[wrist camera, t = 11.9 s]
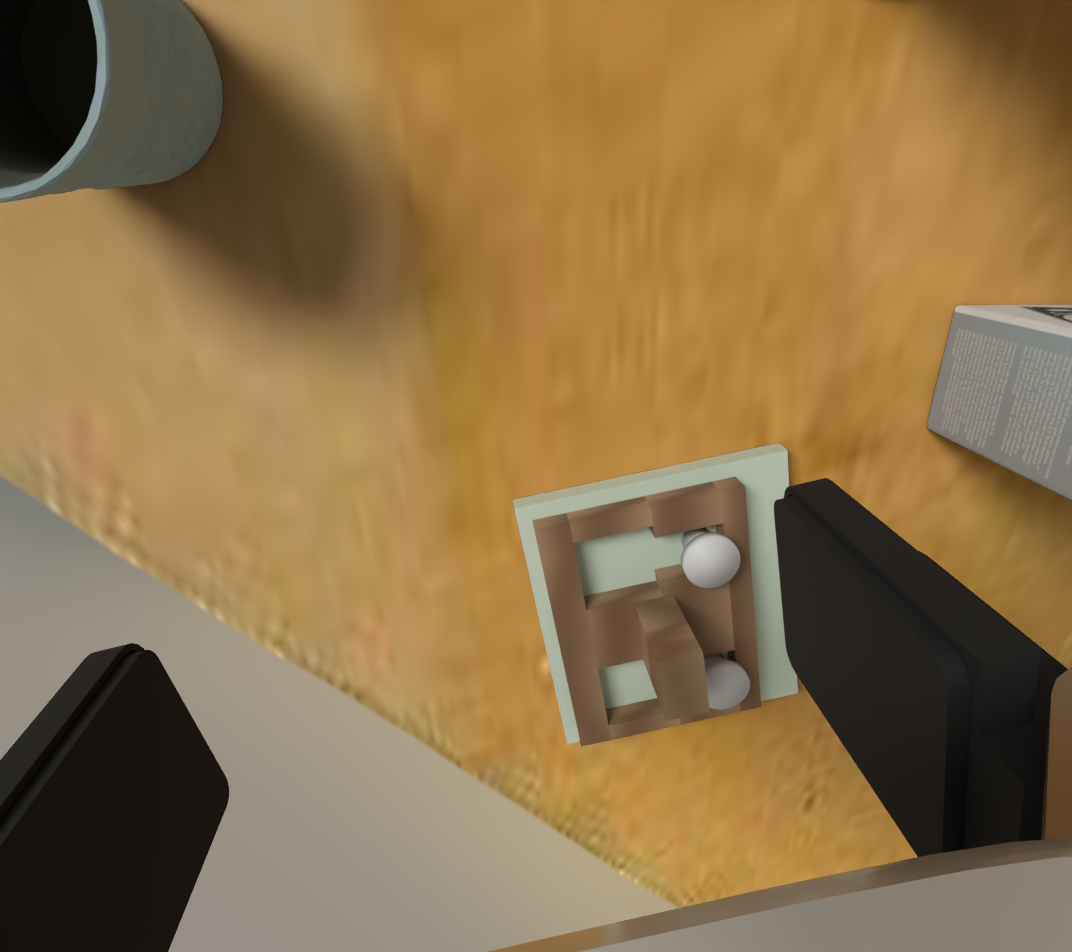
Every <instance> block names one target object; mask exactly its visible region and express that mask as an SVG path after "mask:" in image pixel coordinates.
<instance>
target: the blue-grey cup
mask: <svg viewBox="0 0 1072 952" xmlns="http://www.w3.org/2000/svg"><path fill="white" fill-rule="evenodd" d="M222 108H223V93H222V80H221V75H220V70H219V66H218V63H217V60H216V57H215V54H214V51H213V48H212V46H211V44H210V42H209V40H208V38H207V36H206V34H205V32H204V30H203V28H202V27H201V26H200V24H199V23H198V21H197V20H196V18H195V17H194V15H193V14H192V12H191V11H190V10H189V9H188V8H187V6H186V5H185V4H184V3H183V2H182V1H181V0H0V202H10V201H16V200H22V199H28V198H33V197H38V196H42V195H47V194H58V193H65V192H71V191H74V190H77V189H83V188H93V189H108V188H112V187H115V188H118V187H129V186H137V185H146V184H154V183H160V182H164V181H168V180H170V179H173V178H175V177H178V176H179V175H181V174H183V173H185V172H186V171H188V170H190V169H191V168H192V167H193V166H194V165H195V164H196V163H198V162H199V161H200V160H201V158H202V157H203V156H204V155H205V153H206V152H207V151H208V149H209V147H210V146H211V144H212V143H213V140H214V138H215V136H216V135H217V132H218V129H219V125H220V122H221V116H222Z"/></svg>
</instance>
